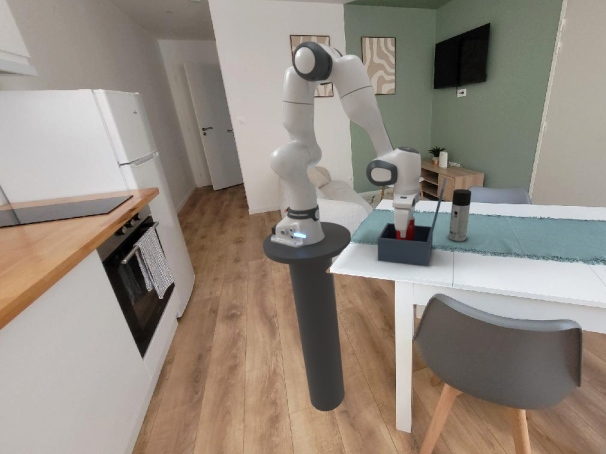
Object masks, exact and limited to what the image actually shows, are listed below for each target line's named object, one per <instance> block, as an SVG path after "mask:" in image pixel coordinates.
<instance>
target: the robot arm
mask: <svg viewBox="0 0 606 454" xmlns="http://www.w3.org/2000/svg"><path fill="white" fill-rule="evenodd" d="M291 59H292V65H291V66H289V67H287V68H286V69H285V71H284V74H283V81H282V89H281V123H282V126H283V127H284V129H286V131H287V133H288V136H289V143H286V144H282V145H280V146H279V147H277V148H275V149H274V150H272V151H271V153H270V155H269V165H270V168H271V170H272V171H273V172H274V174H276V175H278V176H279V177H280V179H281V180H282V182H283V184H284V186H285V189H286V193H287V199H288V205H289V206H288V207H286V208H285V209H284V214H286V213H287V214H286V216H285V217H284V218H282V219H281V220H280V221H279V222H278V223H275V224H274V225H273V226H272V227H271V228H270V230H271V233H272V234H274V235H273V236H272V237H271V241H272V242H276V243H280V244H284V245H288V246H292V247H296V248H298V247H302V246H304V245H310V244H314V243H317V242H319V241H321V240H322V239H324V237H325V235H324V233H323V230H322V227H321V223H320V222H321V219H320V207H319V203H318V196H317V189H316V185H315V184H314V183H313V182H312V181H311V180H310V178H309V175H308V170H310V169H313V168H315V167H316V166H317V165H318V164H319V163H320V161H321V160H322V157H323V151H322V148H321V147H320V145H319V144H318V142H317V138H316V132H315V95H316V89H317V87H318V86H319V85H320V86H325V85H331V84H332V85H334V87H335V89H336V92H337V94H338V97H339V100H340V103H341V106H342V108H343V110H344V113H345V114H346V116H347V118H348V119H349V120H350V121H351V122H353V123H355V124H356V125H359V126H360V127H361V128H363V130H365V131H366V132H367V134H368V136H369V138H370V141H371V143H372V146H373V149H374V151H375V154H376V158H374V159H372V160H371V161H370V162H369V163H368V164H367V166H366V169H365V175H366V178H367V180H368V181H369V183H370V184H371V185H373V186H375V187H388V186H393V197H392V202H391V203H392V205H391V206H392V208H393V218H394V219H393V220H394V221H393V222H394V224H395V229H396V230H398V231H400V233H401V237H402V238H405V237H406V230H407V227H408V225H409V223H410V219H411V217H412V216H414V214H415V211H416V204H418V203H419V202H420V198H421V196H420V195H421V183H420V178H421V175H422V157H421V154H420V152H419V150H418V149H416V148H413V147H410V146H409V147H408V146H398V147H396V148H394V146H393V144H392V141H391V139H390V136H389V133H388V131H387V128H386V125H385V122H384V120H383V117H382V114H381V110H380V107H379V104H378V101H377V97H376V94H375V91H374V87H373V84H372V81H371V79H370V76H369V73H368V71H367V69H366V67H365V65H364V63H363V62H362V59H361V58H360V57H359V56H358V55H356V54H345V55H343V54H342V53H341V52H340V50H339V49H337V48H335V47H332V46H330V45H329V44H326V43H319V42H316V41H310V40H309V41H303V42H301V43H299V44H298V45H297V46H296V47H295V48H294V50H293V53H292V58H291Z"/></svg>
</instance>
